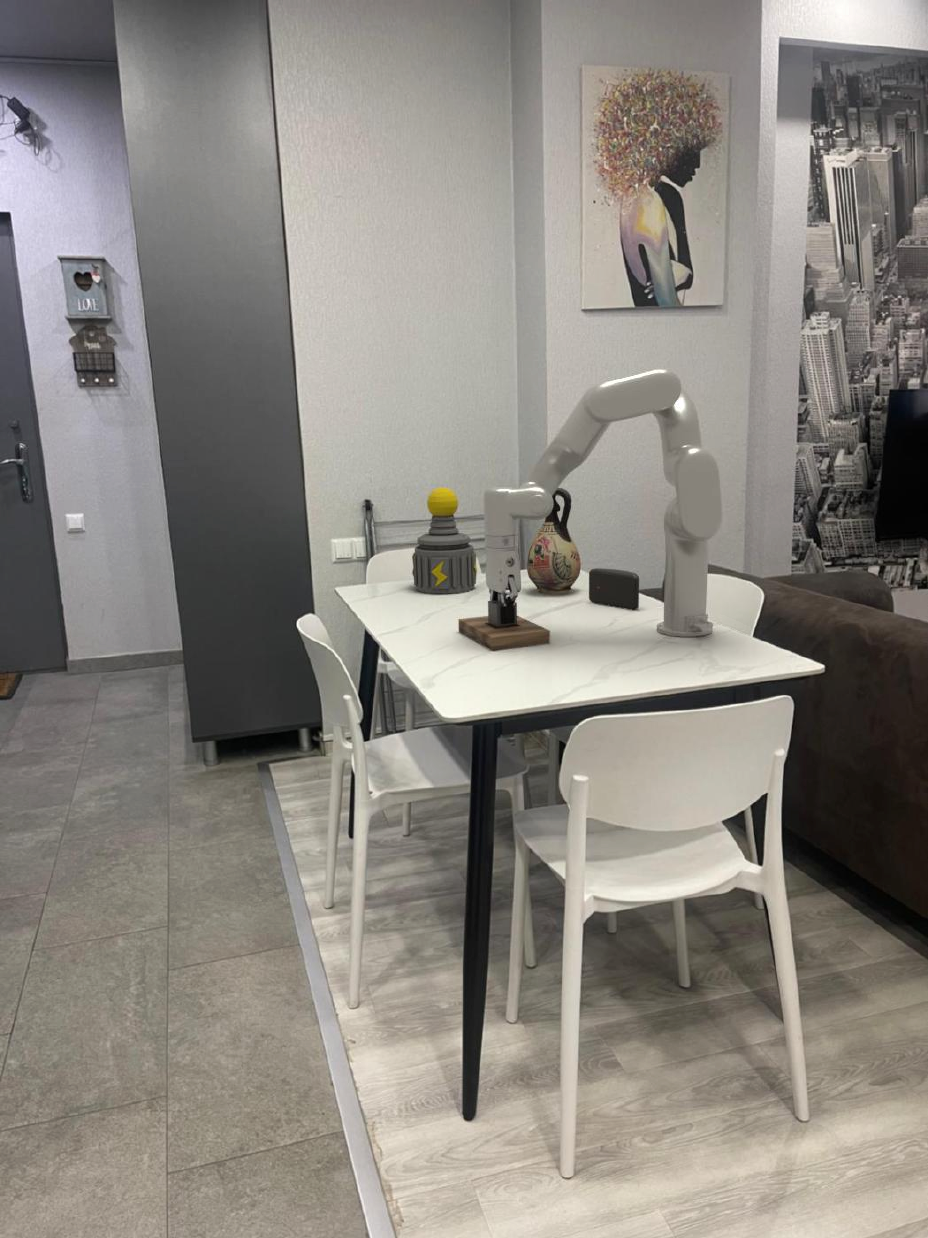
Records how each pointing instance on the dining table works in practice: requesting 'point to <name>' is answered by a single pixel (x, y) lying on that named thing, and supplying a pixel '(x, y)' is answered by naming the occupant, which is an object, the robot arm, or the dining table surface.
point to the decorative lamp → (444, 550)
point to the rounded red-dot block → (614, 588)
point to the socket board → (504, 633)
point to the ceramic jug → (554, 552)
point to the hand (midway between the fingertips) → (502, 620)
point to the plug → (498, 612)
